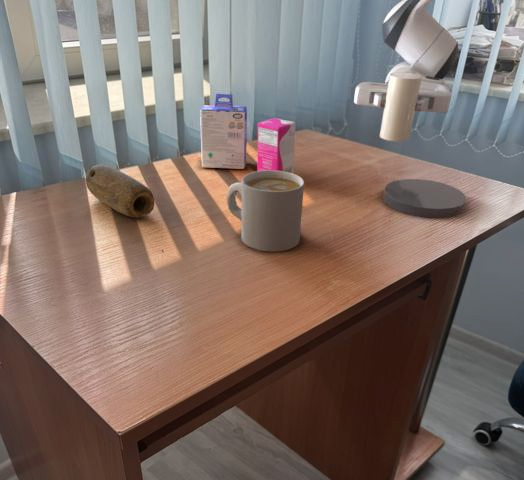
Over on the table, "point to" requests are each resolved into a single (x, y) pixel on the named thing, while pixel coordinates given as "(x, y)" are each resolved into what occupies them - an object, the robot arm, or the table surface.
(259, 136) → the supplement box
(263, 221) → the coffee mug
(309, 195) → the table surface
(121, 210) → the stone weight
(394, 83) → the cream canister
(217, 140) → the ink cartridge box
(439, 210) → the slate plate
